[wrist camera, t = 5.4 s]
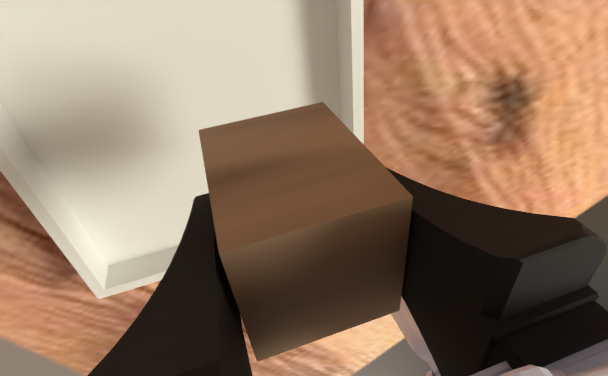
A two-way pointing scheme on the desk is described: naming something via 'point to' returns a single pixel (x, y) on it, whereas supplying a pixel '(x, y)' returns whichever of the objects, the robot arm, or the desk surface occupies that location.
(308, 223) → the walnut block
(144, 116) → the tray
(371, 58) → the desk surface
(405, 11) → the desk surface
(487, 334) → the robot arm
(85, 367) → the desk surface
